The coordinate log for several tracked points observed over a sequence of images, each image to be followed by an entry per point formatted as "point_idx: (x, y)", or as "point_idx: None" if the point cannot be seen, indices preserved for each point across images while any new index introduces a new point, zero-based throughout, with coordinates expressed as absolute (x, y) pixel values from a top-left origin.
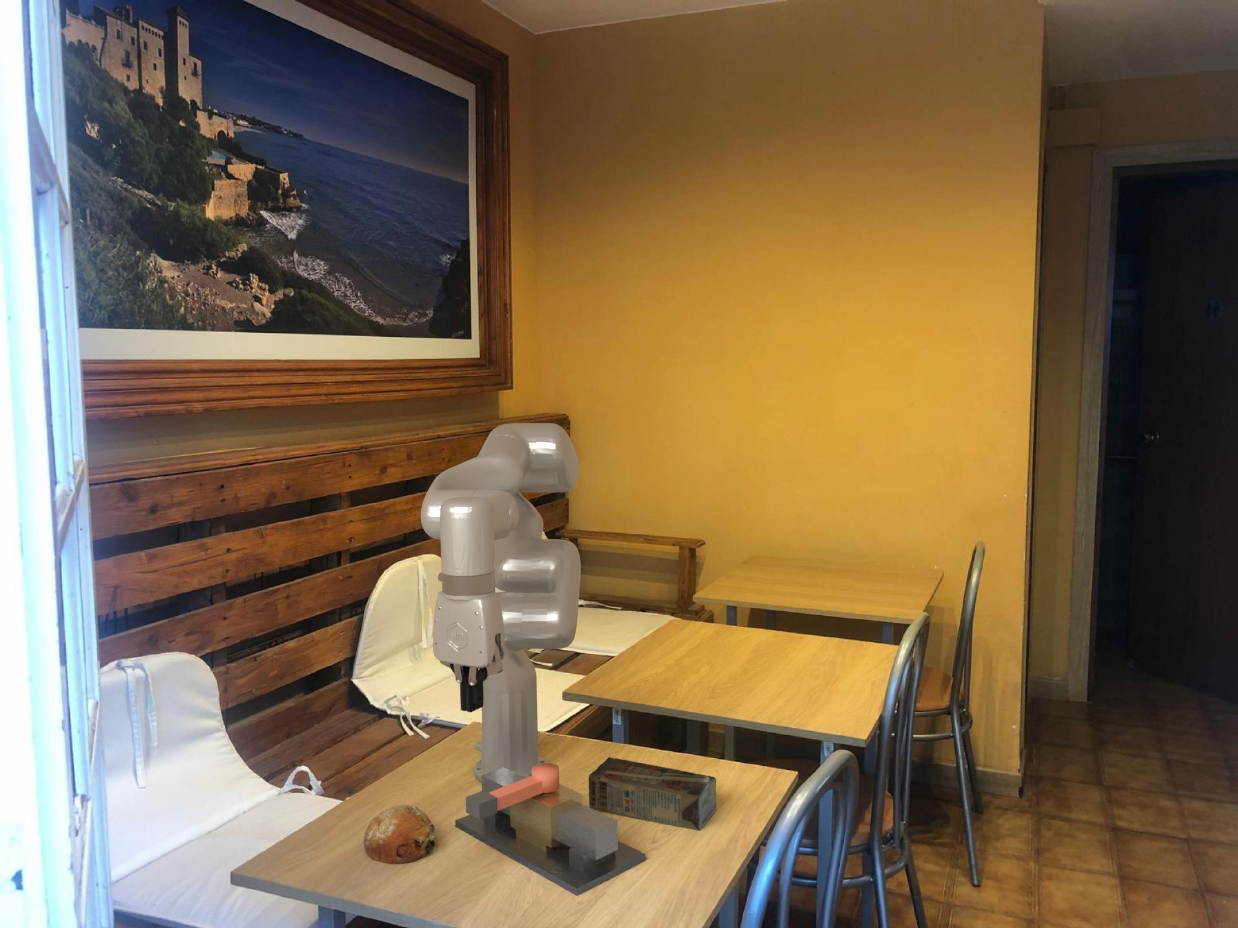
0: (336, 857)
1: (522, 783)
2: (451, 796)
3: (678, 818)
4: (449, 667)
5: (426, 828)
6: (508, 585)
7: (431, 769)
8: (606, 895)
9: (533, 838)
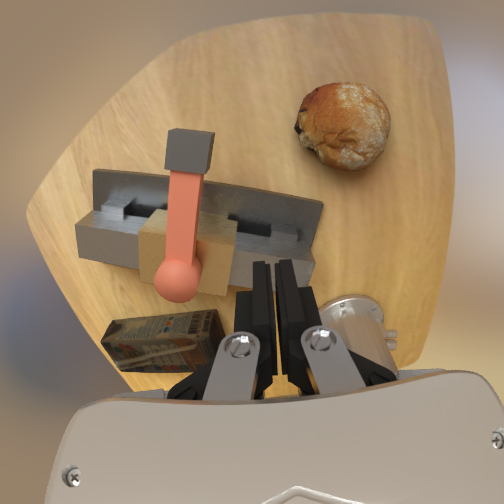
0: (388, 73)
1: (181, 238)
2: (372, 254)
3: (125, 323)
4: (398, 371)
5: (310, 133)
6: None
7: (422, 286)
8: (80, 188)
9: None
